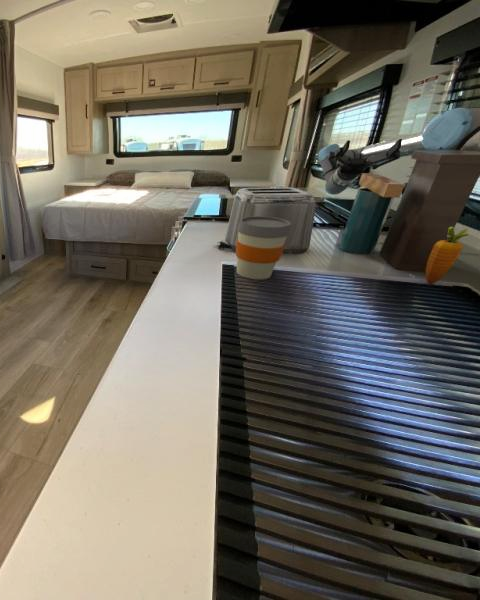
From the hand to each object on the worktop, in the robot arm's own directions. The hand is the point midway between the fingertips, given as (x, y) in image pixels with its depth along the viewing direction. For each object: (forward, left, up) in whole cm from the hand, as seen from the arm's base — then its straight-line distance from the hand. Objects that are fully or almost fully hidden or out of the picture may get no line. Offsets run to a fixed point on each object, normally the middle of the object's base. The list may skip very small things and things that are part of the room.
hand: (373, 143), depth 108 cm
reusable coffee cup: (+18, +54, -31) cm, 65 cm away
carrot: (-20, +38, -31) cm, 53 cm away
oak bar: (-4, +16, -12) cm, 21 cm away
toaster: (+22, +29, -31) cm, 48 cm away
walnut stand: (-16, +22, -31) cm, 41 cm away
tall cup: (-4, +16, -31) cm, 35 cm away
